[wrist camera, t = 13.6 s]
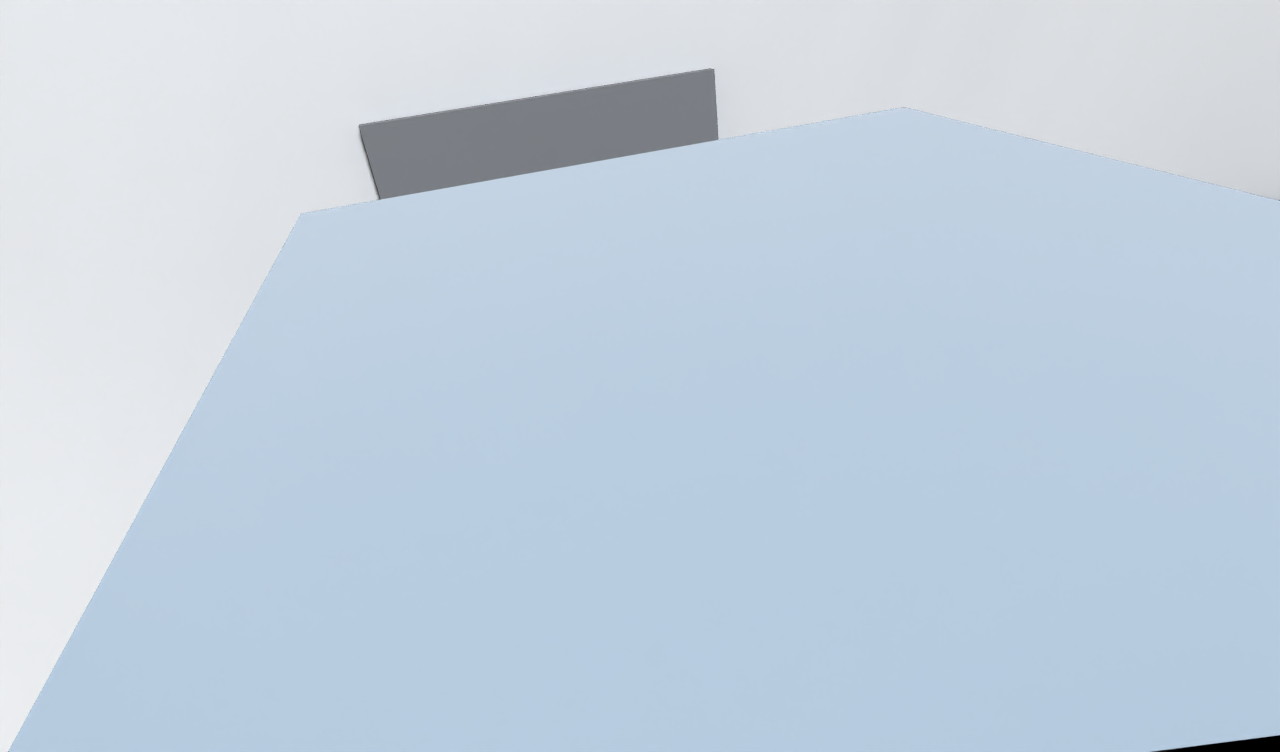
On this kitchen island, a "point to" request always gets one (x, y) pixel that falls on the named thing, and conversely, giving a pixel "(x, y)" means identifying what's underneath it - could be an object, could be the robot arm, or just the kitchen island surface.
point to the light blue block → (724, 468)
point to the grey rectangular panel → (540, 133)
